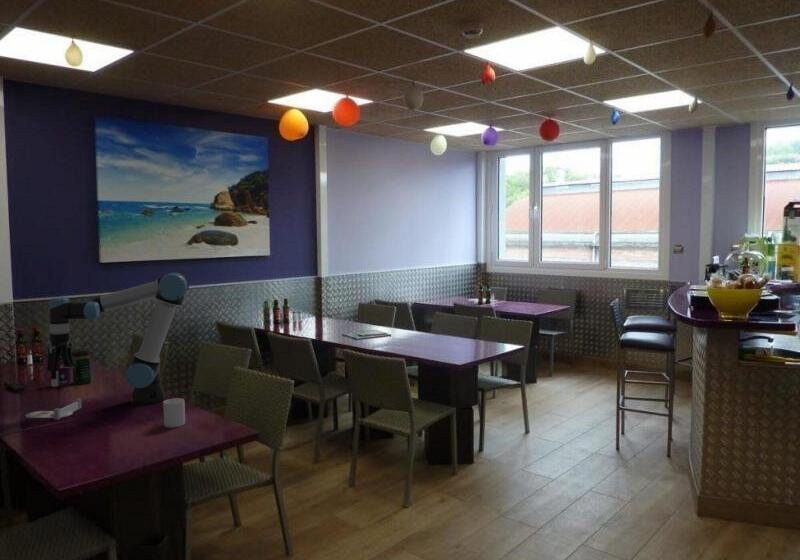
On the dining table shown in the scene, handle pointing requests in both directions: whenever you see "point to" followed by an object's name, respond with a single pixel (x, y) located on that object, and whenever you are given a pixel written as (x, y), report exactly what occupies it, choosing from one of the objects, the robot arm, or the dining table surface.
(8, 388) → the dining table surface
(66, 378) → the cup
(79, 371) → the coffee jar
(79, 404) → the divider wall
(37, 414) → the pad
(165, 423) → the cup
